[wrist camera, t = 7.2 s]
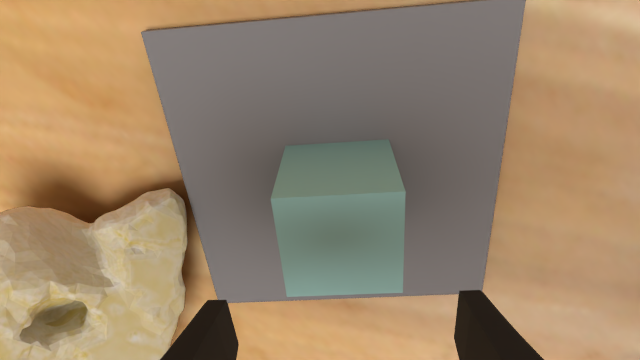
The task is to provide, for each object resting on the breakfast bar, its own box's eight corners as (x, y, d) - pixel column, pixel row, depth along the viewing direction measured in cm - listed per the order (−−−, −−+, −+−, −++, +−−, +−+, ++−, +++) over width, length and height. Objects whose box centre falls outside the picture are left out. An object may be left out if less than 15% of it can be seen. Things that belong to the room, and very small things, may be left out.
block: (388, 139, 19) (405, 191, 14) (388, 225, 21) (402, 292, 16) (285, 145, 19) (270, 198, 14) (296, 229, 21) (286, 296, 17)
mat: (519, -4, 16) (525, -3, 15) (478, 285, 24) (481, 293, 23) (146, 30, 17) (140, 31, 17) (221, 296, 25) (219, 303, 24)
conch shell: (68, 104, 21) (-214, 339, 17) (108, 130, 16) (-281, 479, 12) (229, 246, 31) (81, 415, 27) (284, 289, 26) (113, 507, 22)
